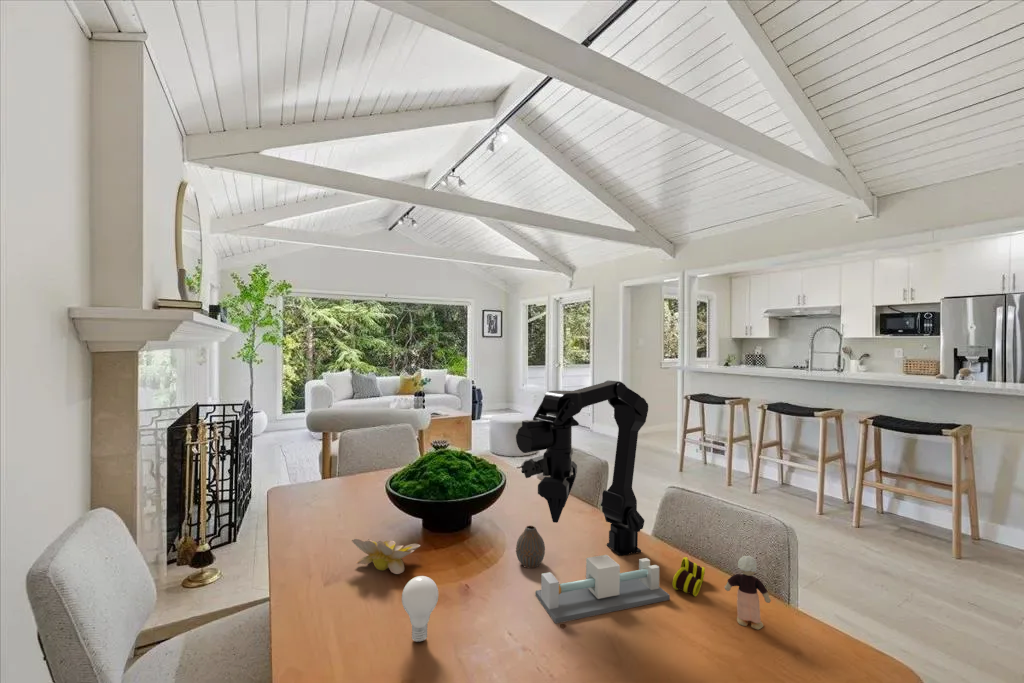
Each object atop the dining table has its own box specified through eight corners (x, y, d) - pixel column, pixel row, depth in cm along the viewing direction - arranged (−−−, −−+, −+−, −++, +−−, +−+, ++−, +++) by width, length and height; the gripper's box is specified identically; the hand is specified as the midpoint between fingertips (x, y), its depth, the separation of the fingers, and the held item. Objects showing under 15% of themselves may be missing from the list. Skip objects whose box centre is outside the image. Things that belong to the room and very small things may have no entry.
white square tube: (606, 582, 98) (606, 554, 98) (619, 594, 93) (619, 565, 93) (585, 586, 96) (586, 557, 96) (597, 598, 91) (598, 569, 91)
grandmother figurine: (767, 621, 87) (768, 555, 87) (771, 633, 84) (772, 564, 84) (723, 612, 90) (724, 548, 90) (725, 624, 86) (726, 557, 86)
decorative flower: (433, 553, 109) (426, 516, 108) (405, 586, 99) (396, 546, 97) (384, 545, 116) (376, 510, 114) (353, 576, 106) (344, 537, 104)
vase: (542, 572, 104) (543, 534, 105) (513, 569, 106) (513, 531, 106) (546, 559, 111) (546, 523, 111) (518, 555, 113) (519, 520, 113)
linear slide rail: (640, 576, 104) (641, 549, 104) (669, 599, 94) (670, 570, 94) (535, 595, 95) (535, 566, 95) (555, 623, 86) (556, 591, 86)
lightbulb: (403, 629, 83) (405, 569, 83) (439, 628, 84) (440, 568, 84) (398, 653, 77) (399, 588, 77) (436, 651, 77) (437, 587, 77)
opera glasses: (695, 603, 95) (701, 581, 94) (670, 591, 97) (675, 569, 97) (703, 583, 103) (708, 562, 102) (679, 572, 106) (684, 552, 105)
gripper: (533, 436, 115) (533, 497, 115) (514, 454, 97) (514, 526, 97) (577, 438, 112) (577, 501, 112) (566, 457, 94) (566, 532, 94)
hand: (558, 514), depth 104 cm, fingers open, 9 cm apart
